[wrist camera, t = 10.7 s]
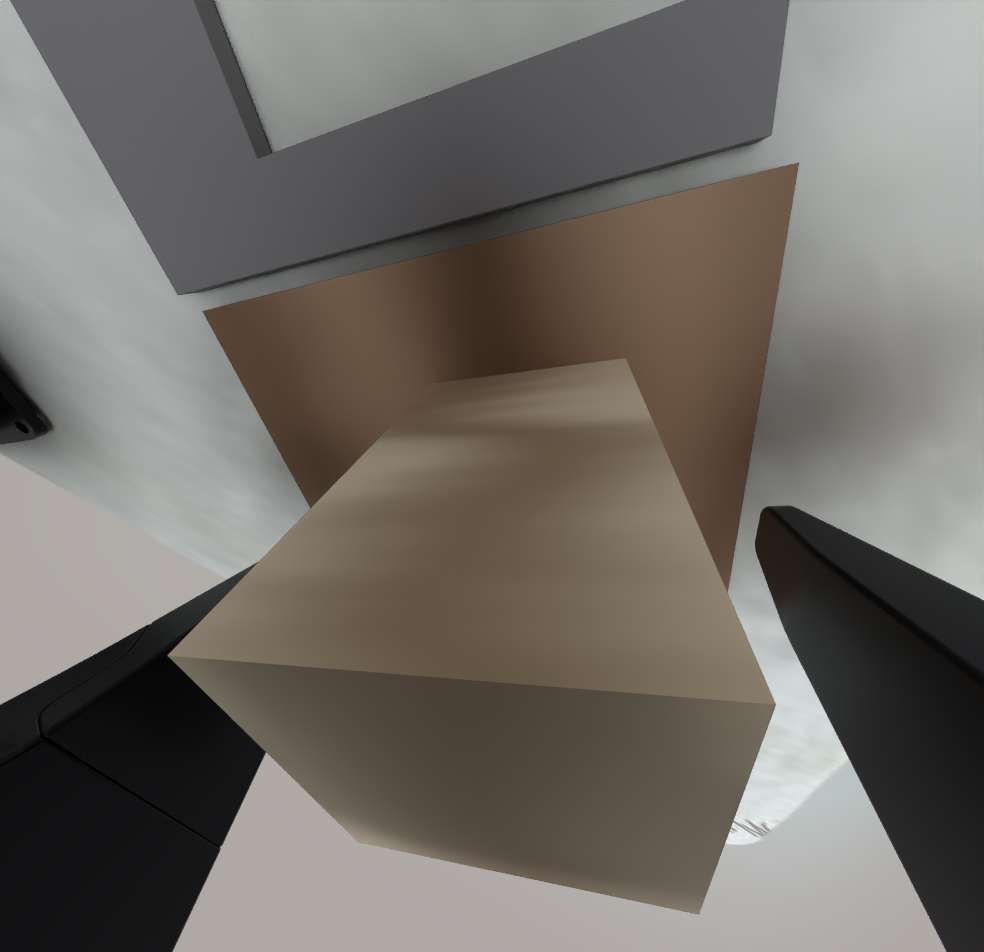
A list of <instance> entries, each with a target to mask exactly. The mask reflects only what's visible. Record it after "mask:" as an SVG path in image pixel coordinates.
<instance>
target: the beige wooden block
mask: <svg viewBox="0 0 984 952" xmlns="http://www.w3.org/2000/svg"><path fill="white" fill-rule="evenodd" d="M167 656H168V657H169V658H170V659H171V660H173V661H174V662H175V663H176V664H177V665H178V666H179V667H180V668H181V669H182V670H183V671H184V672H185V673H186V674H187V675H188V676H189V677H190V678H191V679H192V680H193V681H194V682H195V683H196V684H197V685H198V686H199V687H200V688H201V689H202V690H203V691H204V692H205V693H206V694H207V695H208V696H209V697H210V698H211V699H212V700H213V701H214V702H215V703H216V704H217V705H218V706H220V707H221V708H222V709H223V710H224V711H225V712H226V713H227V714H228V715H229V716H230V717H231V718H232V719H233V720H234V721H235V722H236V723H237V724H238V725H239V726H240V727H241V728H242V729H243V730H244V731H245V732H246V733H247V734H248V735H249V736H250V737H251V738H252V739H253V740H254V741H255V742H256V743H257V744H258V745H259V746H260V747H261V748H262V749H263V750H264V751H266V752H267V753H268V754H269V755H270V756H271V757H272V758H273V759H274V760H275V761H276V762H277V763H278V764H279V765H280V766H281V767H282V768H283V769H284V770H285V771H286V772H287V773H288V774H289V775H290V776H291V777H292V778H293V779H294V780H295V781H296V782H297V783H298V784H299V785H300V786H301V787H302V788H303V789H304V790H305V791H306V792H307V793H309V794H310V796H312V797H313V798H314V799H315V800H316V801H317V802H318V803H319V804H320V805H321V806H322V807H323V808H324V809H325V810H326V811H327V812H328V813H329V814H330V815H331V816H332V817H333V818H334V819H335V820H336V821H337V822H338V823H339V824H340V825H341V826H342V827H343V828H344V829H345V830H346V831H347V832H348V833H349V834H350V835H351V836H353V838H354V839H355V840H357V841H358V842H360V843H365V844H369V845H374V846H379V847H383V848H388V849H393V850H397V851H402V852H407V853H412V854H416V855H421V856H426V857H430V858H435V859H440V860H445V861H450V862H454V863H459V864H464V865H468V866H473V867H478V868H482V869H487V870H492V871H496V872H501V873H506V874H511V875H515V876H520V877H525V878H529V879H534V880H539V881H544V882H548V883H553V884H558V885H562V886H567V887H572V888H577V889H582V890H586V891H590V892H595V893H600V894H605V895H609V896H614V897H619V898H624V899H628V900H633V901H638V902H643V903H647V904H652V905H656V906H662V907H666V908H671V909H676V910H680V911H685V912H689V913H694V914H699V913H700V910H701V907H702V904H703V902H704V899H705V896H706V893H707V891H708V888H709V886H710V883H711V880H712V877H713V875H714V872H715V869H716V867H717V864H718V861H719V858H720V856H721V853H722V850H723V847H724V845H725V842H726V839H727V837H728V834H729V831H730V828H731V826H732V823H733V820H734V818H735V815H736V812H737V809H738V807H739V804H740V801H741V798H742V796H743V793H744V790H745V788H746V785H747V782H748V779H749V777H750V774H751V771H752V769H753V766H754V763H755V760H756V758H757V755H758V752H759V749H760V747H761V744H762V741H763V739H764V736H765V733H766V730H767V728H768V725H769V722H770V720H771V717H772V714H773V711H774V709H775V706H776V704H775V701H774V699H773V697H772V694H771V692H770V690H769V687H768V685H767V683H766V680H765V678H764V676H763V674H762V671H761V669H760V667H759V664H758V662H757V660H756V657H755V655H754V653H753V651H752V648H751V646H750V644H749V641H748V639H747V637H746V634H745V632H744V630H743V627H742V625H741V623H740V621H739V618H738V616H737V614H736V611H735V609H734V607H733V604H732V602H731V600H730V598H729V595H728V593H727V591H726V588H725V586H724V584H723V581H722V579H721V577H720V574H719V572H718V570H717V568H716V565H715V563H714V561H713V558H712V556H711V554H710V551H709V549H708V547H707V545H706V542H705V540H704V538H703V535H702V533H701V531H700V528H699V526H698V524H697V522H696V519H695V517H694V515H693V512H692V510H691V508H690V505H689V503H688V501H687V498H686V496H685V494H684V492H683V489H682V487H681V485H680V482H679V480H678V478H677V475H676V473H675V471H674V469H673V466H672V464H671V462H670V459H669V457H668V455H667V452H666V450H665V448H664V445H663V443H662V441H661V439H660V436H659V434H658V432H657V429H656V427H655V425H654V422H653V420H652V418H651V416H650V413H649V411H648V409H647V406H646V404H645V402H644V399H643V397H642V395H641V392H640V390H639V388H638V386H637V383H636V381H635V379H634V376H633V374H632V372H631V369H630V367H629V365H628V363H627V360H626V358H622V359H615V360H607V361H600V362H592V363H585V364H577V365H569V366H562V367H554V368H547V369H539V370H532V371H524V372H517V373H509V374H502V375H494V376H487V377H479V378H472V379H464V380H457V381H449V382H442V383H434V384H432V385H431V386H430V387H429V388H428V389H427V390H426V391H425V392H424V393H423V394H422V395H421V396H420V397H419V398H418V399H417V400H416V401H415V402H414V403H413V404H412V405H411V406H410V407H409V408H408V409H407V410H406V411H405V412H404V413H403V414H402V415H401V416H400V417H399V418H398V419H397V420H396V422H395V423H394V424H393V425H392V426H391V427H390V428H389V429H388V430H387V431H386V432H385V433H384V434H383V435H382V436H381V437H380V438H379V439H378V440H377V441H376V442H375V443H374V444H373V445H372V446H371V447H370V448H369V449H368V450H367V451H366V452H365V453H364V454H363V455H362V456H361V457H360V458H359V459H358V461H357V462H356V463H355V464H354V465H353V466H352V467H351V468H350V469H349V470H348V471H347V472H346V473H345V474H344V475H343V476H342V477H341V478H340V479H339V480H338V481H337V482H336V483H335V484H334V485H333V486H332V487H331V488H330V489H329V490H328V491H327V492H326V493H325V494H324V495H323V496H322V497H321V498H320V500H319V501H318V502H317V503H316V504H315V505H314V506H313V507H312V508H311V509H310V510H309V511H308V512H307V513H306V514H305V515H304V516H303V517H302V518H301V519H300V520H299V521H298V522H297V523H296V524H295V525H294V526H293V527H292V528H291V529H290V530H289V531H288V532H287V533H286V534H285V535H284V536H283V537H282V539H281V540H280V541H279V542H278V543H277V544H276V545H275V546H274V547H273V548H272V549H271V550H270V551H269V552H268V553H267V554H266V555H265V556H264V557H263V558H262V559H261V560H260V561H259V562H258V563H257V564H256V565H255V566H254V567H253V568H252V569H251V570H250V571H249V572H248V573H247V574H246V575H245V576H244V577H243V579H242V580H241V581H240V582H239V583H238V584H237V585H236V586H235V587H234V588H233V589H232V590H231V591H230V592H229V593H228V594H227V595H226V596H225V597H224V598H223V599H222V600H221V601H220V602H219V603H218V604H217V605H216V606H215V607H214V608H213V609H212V610H211V611H210V612H209V613H208V614H207V615H206V616H205V618H204V619H203V620H202V621H201V622H200V623H199V624H198V625H197V626H196V627H195V628H194V629H193V630H192V631H191V632H190V633H189V634H188V635H187V636H186V637H185V638H184V639H183V640H182V641H181V642H180V643H179V644H178V645H177V646H176V647H175V648H174V649H173V650H172V651H171V652H170V653H169V654H168V655H167Z"/></svg>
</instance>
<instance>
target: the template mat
mask: <svg viewBox="0 0 984 952" xmlns="http://www.w3.org/2000/svg"><path fill="white" fill-rule="evenodd" d="M10 1H11V3H12V4H13V6H14V8H15V10H16V11H17V13H18V15H19V17H20V19H21V20H22V22H23V24H24V26H25V27H26V29H27V31H28V33H29V34H30V36H31V38H32V40H33V41H34V43H35V45H36V47H37V48H38V50H39V52H40V54H41V55H42V57H43V59H44V61H45V63H46V64H47V66H48V68H49V70H50V71H51V73H52V75H53V77H54V78H55V80H56V82H57V84H58V85H59V87H60V89H61V91H62V92H63V94H64V96H65V98H66V99H67V101H68V103H69V105H70V106H71V108H72V110H73V112H74V114H75V115H76V117H77V119H78V121H79V122H80V124H81V126H82V128H83V129H84V131H85V133H86V135H87V136H88V138H89V140H90V142H91V143H92V145H93V147H94V149H95V150H96V152H97V154H98V156H99V158H100V159H101V161H102V163H103V165H104V166H105V168H106V170H107V172H108V173H109V175H110V177H111V179H112V180H113V182H114V184H115V186H116V187H117V189H118V191H119V193H120V194H121V196H122V198H123V200H124V201H125V203H126V205H127V207H128V209H129V210H130V212H131V214H132V216H133V217H134V219H135V221H136V223H137V224H138V226H139V228H140V230H141V231H142V233H143V235H144V237H145V238H146V240H147V242H148V244H149V245H150V247H151V249H152V251H153V253H154V254H155V256H156V258H157V260H158V261H159V263H160V265H161V267H162V268H163V270H164V272H165V274H166V275H167V277H168V279H169V281H170V282H171V284H172V286H173V288H174V289H175V291H176V293H177V295H182V294H189V293H196V292H200V291H204V290H207V289H211V288H215V287H219V286H222V285H226V284H230V283H233V282H237V281H241V280H245V279H248V278H252V277H256V276H260V275H263V274H267V273H271V272H275V271H278V270H282V269H286V268H290V267H293V266H297V265H301V264H304V263H308V262H312V261H316V260H319V259H323V258H327V257H331V256H334V255H338V254H342V253H346V252H349V251H353V250H357V249H361V248H364V247H368V246H372V245H375V244H379V243H383V242H387V241H390V240H394V239H398V238H402V237H405V236H409V235H413V234H417V233H420V232H424V231H428V230H431V229H435V228H439V227H443V226H446V225H450V224H454V223H458V222H461V221H465V220H469V219H473V218H476V217H480V216H484V215H488V214H491V213H495V212H499V211H502V210H506V209H510V208H514V207H517V206H521V205H525V204H529V203H532V202H536V201H540V200H544V199H547V198H551V197H555V196H559V195H562V194H566V193H570V192H573V191H577V190H581V189H585V188H588V187H592V186H596V185H600V184H603V183H607V182H611V181H615V180H618V179H622V178H626V177H630V176H633V175H637V174H641V173H644V172H648V171H652V170H656V169H659V168H663V167H667V166H671V165H674V164H678V163H682V162H686V161H689V160H693V159H697V158H700V157H704V156H708V155H712V154H715V153H719V152H723V151H727V150H730V149H734V148H738V147H742V146H745V145H749V144H753V143H757V142H759V141H761V140H763V139H765V138H767V137H768V136H770V135H772V127H773V120H774V112H775V105H776V97H777V90H778V82H779V75H780V67H781V60H782V52H783V45H784V37H785V30H786V22H787V15H788V7H789V0H686V1H683V2H680V3H678V4H675V5H672V6H670V7H667V8H664V9H661V10H659V11H656V12H653V13H651V14H648V15H645V16H643V17H640V18H637V19H634V20H632V21H629V22H626V23H624V24H621V25H618V26H615V27H613V28H610V29H607V30H605V31H602V32H599V33H597V34H594V35H591V36H588V37H586V38H583V39H580V40H578V41H575V42H572V43H570V44H567V45H564V46H561V47H559V48H556V49H553V50H551V51H548V52H545V53H542V54H540V55H537V56H534V57H532V58H529V59H526V60H524V61H521V62H518V63H515V64H513V65H510V66H507V67H505V68H502V69H499V70H496V71H494V72H491V73H488V74H486V75H483V76H480V77H478V78H475V79H472V80H469V81H467V82H464V83H461V84H459V85H456V86H453V87H451V88H448V89H445V90H442V91H440V92H437V93H434V94H432V95H429V96H426V97H423V98H421V99H418V100H415V101H413V102H410V103H407V104H405V105H402V106H399V107H396V108H394V109H391V110H388V111H386V112H383V113H380V114H377V115H375V116H372V117H369V118H367V119H364V120H361V121H359V122H356V123H353V124H350V125H348V126H345V127H342V128H340V129H337V130H334V131H331V132H329V133H326V134H323V135H321V136H318V137H315V138H313V139H310V140H307V141H304V142H302V143H299V144H296V145H294V146H291V147H288V148H286V149H283V150H280V151H277V152H275V153H271V150H270V148H269V145H268V142H267V140H266V137H265V135H264V132H263V129H262V127H261V124H260V122H259V119H258V116H257V114H256V111H255V109H254V106H253V103H252V101H251V98H250V96H249V93H248V91H247V88H246V85H245V83H244V80H243V78H242V75H241V72H240V70H239V67H238V65H237V62H236V59H235V57H234V54H233V52H232V49H231V46H230V44H229V41H228V39H227V36H226V34H225V31H224V28H223V26H222V23H221V21H220V18H219V15H218V13H217V10H216V8H215V5H214V2H213V0H10Z"/></svg>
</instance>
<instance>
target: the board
mask: <svg viewBox="0 0 984 952" xmlns="http://www.w3.org/2000/svg"><path fill="white" fill-rule="evenodd" d="M798 166H799V163H795V164H791V165H787V166H783V167H779V168H775V169H771V170H767V171H763V172H759V173H755V174H751V175H747V176H743V177H739V178H735V179H731V180H727V181H723V182H719V183H715V184H711V185H707V186H703V187H699V188H695V189H691V190H687V191H683V192H679V193H675V194H671V195H667V196H663V197H659V198H655V199H651V200H647V201H643V202H639V203H635V204H631V205H627V206H623V207H619V208H615V209H611V210H606V211H602V212H598V213H594V214H590V215H586V216H582V217H578V218H574V219H570V220H566V221H562V222H558V223H554V224H550V225H546V226H542V227H538V228H534V229H530V230H526V231H522V232H518V233H514V234H510V235H506V236H502V237H498V238H494V239H490V240H486V241H482V242H478V243H474V244H470V245H466V246H462V247H458V248H454V249H450V250H446V251H442V252H438V253H434V254H430V255H426V256H422V257H418V258H414V259H410V260H406V261H402V262H398V263H394V264H390V265H386V266H382V267H378V268H374V269H370V270H366V271H362V272H358V273H354V274H350V275H346V276H341V277H337V278H333V279H329V280H325V281H321V282H317V283H313V284H309V285H305V286H301V287H297V288H293V289H289V290H285V291H281V292H277V293H273V294H269V295H265V296H261V297H257V298H253V299H249V300H245V301H241V302H237V303H233V304H229V305H225V306H221V307H217V308H213V309H209V310H205V311H203V313H204V315H205V317H206V319H207V320H208V322H209V324H210V326H211V328H212V330H213V331H214V333H215V335H216V337H217V339H218V341H219V342H220V344H221V346H222V348H223V350H224V351H225V353H226V355H227V357H228V359H229V361H230V362H231V364H232V366H233V368H234V370H235V371H236V373H237V375H238V377H239V379H240V381H241V382H242V384H243V386H244V388H245V390H246V392H247V393H248V395H249V397H250V399H251V401H252V402H253V404H254V406H255V408H256V410H257V412H258V413H259V415H260V417H261V419H262V421H263V422H264V424H265V426H266V428H267V430H268V432H269V433H270V435H271V437H272V439H273V441H274V443H275V444H276V446H277V448H278V450H279V452H280V453H281V455H282V457H283V459H284V461H285V463H286V464H287V466H288V468H289V470H290V472H291V473H292V475H293V477H294V479H295V481H296V483H297V484H298V486H299V488H300V490H301V492H302V494H303V495H304V497H305V499H306V501H307V503H308V504H309V506H310V508H312V507H313V506H314V505H315V504H316V503H317V502H318V501H319V500H320V498H321V497H322V496H323V495H324V494H325V493H326V492H327V491H328V490H329V489H330V488H331V487H332V486H333V485H334V484H335V483H336V482H337V481H338V480H339V479H340V478H341V477H342V476H343V475H344V474H345V473H346V472H347V471H348V470H349V469H350V468H351V467H352V466H353V465H354V464H355V463H356V462H357V461H358V459H359V458H360V457H361V456H362V455H363V454H364V453H365V452H366V451H367V450H368V449H369V448H370V447H371V446H372V445H373V444H374V443H375V442H376V441H377V440H378V439H379V438H380V437H381V436H382V435H383V434H384V433H385V432H386V431H387V430H388V429H389V428H390V427H391V426H392V425H393V424H394V423H395V422H396V420H397V419H398V418H399V417H400V416H401V415H402V414H403V413H404V412H405V411H406V410H407V409H408V408H409V407H410V406H411V405H412V404H413V403H414V402H415V401H416V400H417V399H418V398H419V397H420V396H421V395H422V394H423V393H424V392H425V391H426V390H427V389H428V388H429V387H430V386H431V385H432V384H434V383H442V382H449V381H457V380H464V379H472V378H479V377H487V376H494V375H502V374H509V373H517V372H524V371H532V370H539V369H547V368H554V367H562V366H569V365H577V364H585V363H592V362H600V361H607V360H615V359H622V358H626V360H627V363H628V365H629V367H630V369H631V372H632V374H633V376H634V379H635V381H636V383H637V386H638V388H639V390H640V392H641V395H642V397H643V399H644V402H645V404H646V406H647V409H648V411H649V413H650V416H651V418H652V420H653V422H654V425H655V427H656V429H657V432H658V434H659V436H660V439H661V441H662V443H663V445H664V448H665V450H666V452H667V455H668V457H669V459H670V462H671V464H672V466H673V469H674V471H675V473H676V475H677V478H678V480H679V482H680V485H681V487H682V489H683V492H684V494H685V496H686V498H687V501H688V503H689V505H690V508H691V510H692V512H693V515H694V517H695V519H696V522H697V524H698V526H699V528H700V531H701V533H702V535H703V538H704V540H705V542H706V545H707V547H708V549H709V551H710V554H711V556H712V558H713V561H714V563H715V565H716V568H717V570H718V572H719V574H720V577H721V579H722V581H723V584H724V586H725V588H726V591H727V593H728V587H729V581H730V575H731V569H732V563H733V557H734V551H735V545H736V539H737V533H738V527H739V521H740V515H741V509H742V503H743V497H744V491H745V485H746V479H747V473H748V467H749V461H750V455H751V449H752V443H753V437H754V431H755V425H756V419H757V413H758V407H759V401H760V395H761V389H762V383H763V377H764V371H765V365H766V359H767V353H768V347H769V341H770V334H771V328H772V322H773V316H774V310H775V304H776V298H777V292H778V286H779V280H780V274H781V268H782V262H783V256H784V250H785V244H786V238H787V232H788V226H789V220H790V214H791V208H792V202H793V196H794V190H795V184H796V178H797V172H798Z"/></svg>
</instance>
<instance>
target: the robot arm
mask: <svg viewBox="0 0 984 952" xmlns="http://www.w3.org/2000/svg"><path fill="white" fill-rule="evenodd" d="M47 432H48V430H47V427H46V425H45V424H44V422H43V421H42V420H41V419H40V418H39V417H38V415H37V414H36V413H35V412H34V411H33V410H32V409H31V407H30V406H29V405H28V404H27V403H26V402H25V400H24V399H23V398H22V397H21V396H20V395H19V394H18V392H17V391H16V390H15V389H14V388H13V387H12V385H11V384H10V383H9V382H8V381H7V380H6V379H5V377H4V376H3V375H2V374H1V373H0V444H6V443H12V442H19V441H25V440H31V439H35V438H38V437H40V436H43V435H45V434H47ZM755 549H756V554H757V557H758V559H759V562H760V565H761V568H762V570H763V573H764V576H765V579H766V581H767V584H768V587H769V590H770V592H771V595H772V598H773V601H774V603H775V606H776V609H777V612H778V614H779V617H780V620H781V622H782V625H783V627H784V630H785V632H786V634H787V636H788V639H789V641H790V643H791V645H792V647H793V649H794V651H795V653H796V655H797V657H798V659H799V661H800V663H801V665H802V667H803V669H804V671H805V673H806V675H807V677H808V679H809V681H810V682H811V684H812V686H813V688H814V690H815V692H816V694H817V696H818V698H819V700H820V702H821V704H822V706H823V708H824V710H825V712H826V714H827V716H828V718H829V720H830V722H831V724H832V726H833V728H834V730H835V732H836V734H837V736H838V738H839V740H840V742H841V744H842V746H843V748H844V750H845V752H846V754H847V756H848V758H849V760H850V762H851V764H852V766H853V768H854V770H855V772H856V774H857V775H858V777H859V779H860V781H861V783H862V785H863V787H864V789H865V791H866V793H867V795H868V797H869V799H870V801H871V803H872V805H873V807H874V809H875V811H876V813H877V815H878V817H879V819H880V821H881V823H882V825H883V827H884V829H885V831H886V833H887V835H888V837H889V839H890V841H891V843H892V845H893V847H894V849H895V851H896V853H897V854H898V857H899V859H900V861H901V863H902V864H903V867H904V868H905V870H906V872H907V874H908V876H909V878H910V880H911V882H912V884H913V886H914V888H915V890H916V892H917V894H918V896H919V898H920V900H921V902H922V904H923V906H924V908H925V910H926V912H927V914H928V916H929V918H930V920H931V922H932V924H933V926H934V928H935V930H936V932H937V934H938V936H939V938H940V940H941V942H942V944H943V945H944V948H945V950H946V952H984V600H982V599H980V598H978V597H976V596H974V595H972V594H970V593H968V592H966V591H964V590H962V589H960V588H958V587H956V586H954V585H952V584H950V583H948V582H946V581H944V580H941V579H939V578H937V577H935V576H933V575H931V574H929V573H927V572H925V571H923V570H921V569H919V568H917V567H915V566H913V565H911V564H909V563H907V562H905V561H903V560H901V559H899V558H897V557H895V556H893V555H891V554H889V553H887V552H885V551H883V550H881V549H879V548H877V547H875V546H873V545H870V544H868V543H866V542H864V541H862V540H860V539H858V538H856V537H854V536H852V535H850V534H848V533H846V532H844V531H842V530H840V529H838V528H836V527H834V526H832V525H830V524H828V523H826V522H824V521H822V520H820V519H818V518H816V517H814V516H812V515H810V514H808V513H806V512H804V511H802V510H800V509H797V508H795V507H793V506H768V507H766V508H764V509H763V510H762V512H761V515H760V520H759V525H758V530H757V535H756V540H755ZM257 563H258V562H257ZM257 563H255V564H253V565H252V566H250V567H248V568H246V569H245V570H243V571H241V572H239V573H238V574H236V575H234V576H232V577H231V578H229V579H227V580H225V581H224V582H222V583H220V584H218V585H217V586H215V587H213V588H211V589H210V590H208V591H206V592H204V593H203V594H201V595H199V596H197V597H196V598H194V599H192V600H190V601H189V602H187V603H185V604H183V605H182V606H180V607H178V608H176V609H175V610H173V611H171V612H169V613H167V614H166V615H164V616H162V617H160V618H159V619H157V620H155V621H154V622H152V624H151V625H146V626H145V627H143V628H141V629H139V630H138V631H136V632H134V633H132V634H131V635H129V636H127V637H125V638H123V639H122V640H120V641H118V642H116V643H115V644H113V645H111V646H109V647H107V648H106V649H104V650H102V651H100V652H98V653H97V654H95V655H93V656H91V657H89V658H88V659H86V660H84V661H82V662H80V663H78V664H76V665H74V666H72V667H71V668H69V669H67V670H65V671H63V672H61V673H60V674H58V675H56V676H54V677H52V678H50V679H48V680H46V681H44V682H43V683H41V684H39V685H37V686H35V687H33V688H31V689H29V690H28V691H25V692H23V693H22V694H20V695H18V696H16V697H14V698H12V699H10V700H8V701H7V702H5V703H3V704H1V705H0V952H173V949H174V948H175V945H176V943H177V941H178V939H179V937H180V935H181V933H182V931H183V928H184V926H185V924H186V922H187V920H188V918H189V916H190V914H191V911H192V909H193V907H194V905H195V903H196V901H197V899H198V896H199V894H200V892H201V890H202V888H203V886H204V884H205V882H206V879H207V877H208V875H209V873H210V871H211V869H212V867H213V864H214V862H215V860H216V858H217V856H218V854H219V852H220V849H221V848H220V847H221V846H222V845H223V843H224V840H225V838H226V836H227V834H228V832H229V830H230V828H231V826H232V823H233V821H234V819H235V817H236V815H237V813H238V811H239V809H240V806H241V804H242V802H243V800H244V798H245V796H246V794H247V792H248V789H249V787H250V785H251V783H252V781H253V779H254V777H255V775H256V773H257V770H258V768H259V766H260V764H261V762H262V760H263V758H264V756H265V753H266V751H264V750H263V749H262V748H261V747H260V746H259V745H258V744H257V743H256V742H255V741H254V740H253V739H252V738H251V737H250V736H249V735H248V734H247V733H246V732H245V731H244V730H243V729H242V728H241V727H240V726H239V725H238V724H237V723H236V722H235V721H234V720H233V719H232V718H231V717H230V716H229V715H228V714H227V713H226V712H225V711H224V710H223V709H222V708H221V707H220V706H218V705H217V704H216V703H215V702H214V701H213V700H212V699H211V698H210V697H209V696H208V695H207V694H206V693H205V692H204V691H203V690H202V689H201V688H200V687H199V686H198V685H197V684H196V683H195V682H194V681H193V680H192V679H191V678H190V677H189V676H188V675H187V674H186V673H185V672H184V671H183V670H182V669H181V668H180V667H179V666H178V665H177V664H176V663H175V662H174V661H173V660H171V659H170V658H169V657H168V656H167V655H168V654H169V653H170V652H171V651H172V650H173V649H174V648H175V647H176V646H177V645H178V644H179V643H180V642H181V641H182V640H183V639H184V638H185V637H186V636H187V635H188V634H189V633H190V632H191V631H192V630H193V629H194V628H195V627H196V626H197V625H198V624H199V623H200V622H201V621H202V620H203V619H204V618H205V616H206V615H207V614H208V613H209V612H210V611H211V610H212V609H213V608H214V607H215V606H216V605H217V604H218V603H219V602H220V601H221V600H222V599H223V598H224V597H225V596H226V595H227V594H228V593H229V592H230V591H231V590H232V589H233V588H234V587H235V586H236V585H237V584H238V583H239V582H240V581H241V580H242V579H243V577H244V576H245V575H246V574H247V573H248V572H249V571H250V570H251V569H252V568H253V567H254V566H255V565H256V564H257Z"/></svg>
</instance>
